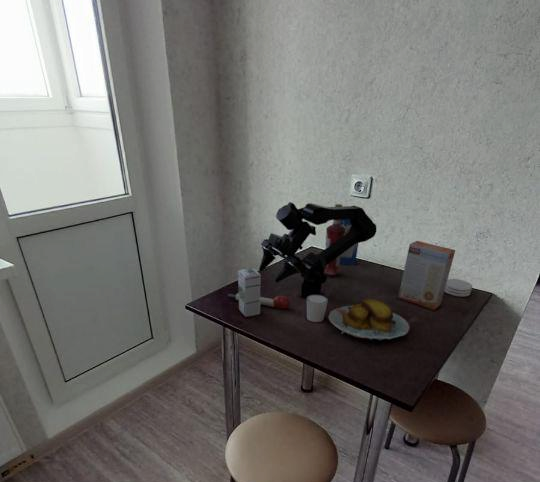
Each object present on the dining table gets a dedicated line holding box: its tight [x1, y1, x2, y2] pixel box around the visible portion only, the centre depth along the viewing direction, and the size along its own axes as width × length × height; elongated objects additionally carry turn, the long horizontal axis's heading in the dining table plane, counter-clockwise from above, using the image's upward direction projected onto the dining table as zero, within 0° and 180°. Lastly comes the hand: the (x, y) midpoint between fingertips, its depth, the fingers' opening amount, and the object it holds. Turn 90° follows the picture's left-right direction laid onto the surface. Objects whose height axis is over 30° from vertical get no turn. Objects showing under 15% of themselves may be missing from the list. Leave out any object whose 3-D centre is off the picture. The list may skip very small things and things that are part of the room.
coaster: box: [444, 278, 473, 298], centre depth 155 cm, size 10×10×4 cm
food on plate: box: [327, 298, 411, 341], centre depth 128 cm, size 25×25×7 cm
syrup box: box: [237, 267, 262, 318], centre depth 132 cm, size 6×6×14 cm
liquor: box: [324, 203, 345, 277], centre depth 160 cm, size 7×7×28 cm
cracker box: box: [397, 240, 456, 311], centre depth 142 cm, size 14×6×21 cm, turn 47°
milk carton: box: [339, 219, 359, 266], centre depth 175 cm, size 10×6×20 cm, turn 81°
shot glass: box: [306, 294, 329, 323], centre depth 132 cm, size 7×7×7 cm
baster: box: [228, 292, 291, 310], centre depth 140 cm, size 22×4×4 cm, turn 73°
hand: (267, 276), depth 134 cm, fingers open, 9 cm apart
